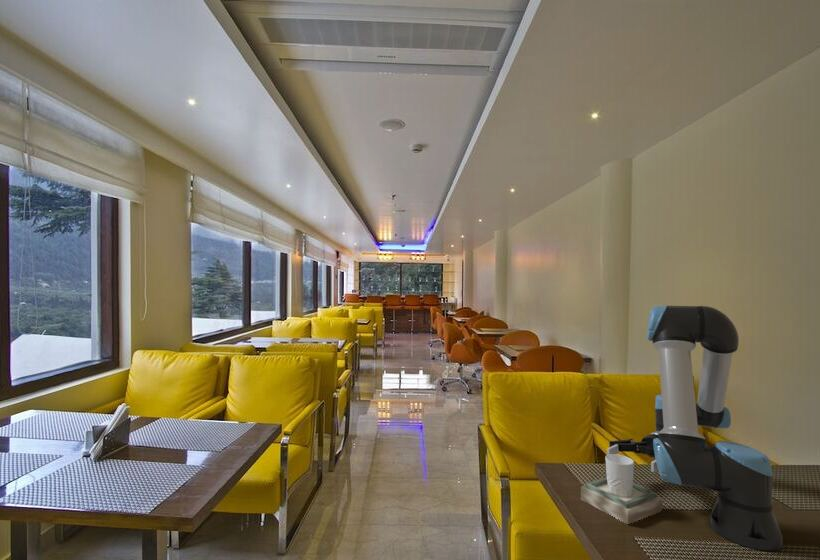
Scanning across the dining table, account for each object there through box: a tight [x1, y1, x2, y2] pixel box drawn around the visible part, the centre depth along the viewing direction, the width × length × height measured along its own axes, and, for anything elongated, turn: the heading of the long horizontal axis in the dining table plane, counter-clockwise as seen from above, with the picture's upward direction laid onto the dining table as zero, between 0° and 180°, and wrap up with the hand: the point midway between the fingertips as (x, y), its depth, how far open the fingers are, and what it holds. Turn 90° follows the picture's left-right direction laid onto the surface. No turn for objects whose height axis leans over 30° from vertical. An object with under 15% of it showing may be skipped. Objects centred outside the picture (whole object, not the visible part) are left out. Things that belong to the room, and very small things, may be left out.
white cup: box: [605, 453, 635, 497], centre depth 124 cm, size 8×8×10 cm
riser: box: [580, 476, 663, 525], centre depth 124 cm, size 16×16×5 cm
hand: (629, 459), depth 128 cm, fingers open, 13 cm apart
